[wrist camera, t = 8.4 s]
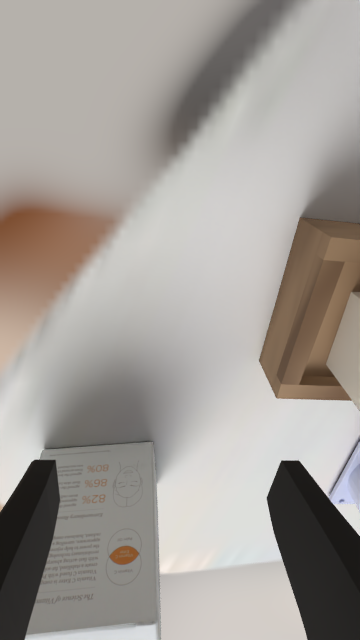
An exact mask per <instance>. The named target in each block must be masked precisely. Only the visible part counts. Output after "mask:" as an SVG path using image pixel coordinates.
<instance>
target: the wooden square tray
mask: <svg viewBox="0 0 360 640" xmlns="http://www.w3.org/2000/svg"><path fill="white" fill-rule="evenodd" d="M351 292H360V224H359V223H349V222H339V221H329V220H319V219H309V218H300V219H299V222H298V226H297V229H296V233H295V236H294V240H293V243H292V247H291V250H290V254H289V257H288V261H287V264H286V268H285V272H284V275H283V279H282V282H281V286H280V289H279V293H278V296H277V300H276V303H275V307H274V310H273V314H272V317H271V321H270V324H269V328H268V331H267V335H266V338H265V342H264V345H263V349H262V352H261V356H260V359H259V362H260V364H261V366H262V368H263V370H264V372H265V375H266V377H267V379H268V381H269V383H270V385H271V387H272V390H273V392H274V394H275V396H276V398H282V399H316V400H350V401H352V400H351V398H350V397H349V395H348V394H347V393H346V391H345V390H344V388H343V387H342V386H341V384H340V383H339V382H338V380H337V379H336V377H335V376H334V375H333V373H332V372H331V371H330V369H329V368H328V366H327V365H326V363H327V360H328V357H329V354H330V351H331V348H332V345H333V343H334V340H335V337H336V334H337V331H338V328H339V325H340V323H341V320H342V317H343V314H344V311H345V308H346V305H347V303H348V300H349V297H350V294H351Z"/></svg>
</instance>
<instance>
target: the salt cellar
mask: <svg viewBox="0 0 360 640" xmlns="http://www.w3.org/2000/svg"><path fill="white" fill-rule="evenodd" d="M326 365H327V366H328V368H329V369H330V371H331V372H332V373H333V375H334V376H335V377H336V379H337V380H338V382H339V383H340V384H341V386H342V387H343V388H344V390H345V391H346V393H347V394H348V395H349V397H350V398H351V400H352V401H353V402H354V404H355V405H356V406H357V408H358V409H359V411H360V292H351V294H350V297H349V300H348V303H347V305H346V308H345V311H344V314H343V317H342V320H341V323H340V325H339V328H338V331H337V334H336V337H335V340H334V343H333V345H332V348H331V351H330V354H329V357H328V360H327V363H326Z"/></svg>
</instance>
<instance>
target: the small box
mask: <svg viewBox="0 0 360 640" xmlns="http://www.w3.org/2000/svg"><path fill="white" fill-rule="evenodd" d="M39 460H56V467H57V476H58V485H59V494H60V504H59V510H58V515H57V521H56V526H55V531H54V537H53V540H52V544H51V548H50V551H49V555H48V558H47V562H46V565H45V569H44V572H43V576H42V579H41V583H40V586H39V590H38V593H37V597H36V600H35V604H34V607H33V611H32V614H31V618H30V621H29V625H28V629H27V633H26V636H25V640H161V616H160V575H159V537H158V507H157V483H156V468H155V456H154V444H153V442H140V443H126V444H113V445H99V446H86V447H72V448H60V449H46V450H43V451H42V453H41V456H40V459H39Z"/></svg>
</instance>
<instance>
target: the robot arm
mask: <svg viewBox="0 0 360 640" xmlns="http://www.w3.org/2000/svg"><path fill="white" fill-rule="evenodd" d="M267 502H268V507H269V512H270V517H271V521H272V526H273V530H274V534H275V537H276V541H277V544H278V547H279V550H280V553H281V556H282V559H283V562H284V565H285V568H286V571H287V574H288V578H289V580H290V584H291V587H292V590H293V593H294V596H295V599H296V602H297V605H298V608H299V611H300V614H301V618H302V621H303V624H304V628H305V631H306V635H307V639H308V640H360V536H359V535H358V534H357V532H356V531H355V530H354V529H353V528H352V526H351V525H350V524H349V523H348V522H347V520H346V519H345V518H344V517H343V516H342V514H341V513H340V512H339V511H338V510H337V508H336V507H335V506H334V505H333V504H356V506H357V508H358V510H359V512H360V441H359V443H358V445H357V447H356V448H355V450H354V452H353V454H352V456H351V458H350V459H349V461H348V463H347V465H346V467H345V469H344V471H343V472H342V474H341V476H340V478H339V480H338V482H337V483H336V485H335V487H334V489H333V491H332V493H331V494H330V496H329V498H328V497H327V496H326V494H325V493H324V492H323V491H322V489H321V488H320V487H319V486H318V484H317V483H316V482H315V480H314V479H313V478H312V477H311V475H310V474H309V473H308V471H307V470H306V469H305V468H304V466H303V465H302V464H301V463H300V461H281V463H280V465H279V468H278V471H277V473H276V476H275V478H274V481H273V483H272V486H271V488H270V491H269V493H268V496H267ZM59 504H60V494H59V485H58V476H57V467H56V460H34V461H32V462H31V464H30V466H29V467H28V469H27V471H26V473H25V474H24V476H23V478H22V479H21V481H20V483H19V484H18V486H17V487H16V489H15V490H14V492H13V494H12V495H11V497H10V498H9V500H8V501H7V503H6V504H5V506H4V507H3V509H2V510H1V512H0V640H25V636H26V633H27V629H28V625H29V621H30V618H31V614H32V611H33V607H34V604H35V600H36V597H37V593H38V590H39V586H40V583H41V579H42V576H43V572H44V569H45V565H46V562H47V558H48V555H49V551H50V548H51V544H52V540H53V537H54V531H55V526H56V521H57V515H58V510H59Z"/></svg>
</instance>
